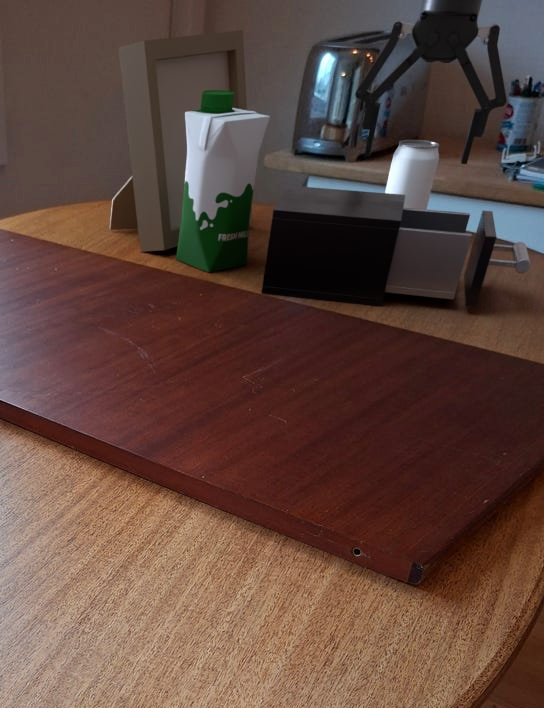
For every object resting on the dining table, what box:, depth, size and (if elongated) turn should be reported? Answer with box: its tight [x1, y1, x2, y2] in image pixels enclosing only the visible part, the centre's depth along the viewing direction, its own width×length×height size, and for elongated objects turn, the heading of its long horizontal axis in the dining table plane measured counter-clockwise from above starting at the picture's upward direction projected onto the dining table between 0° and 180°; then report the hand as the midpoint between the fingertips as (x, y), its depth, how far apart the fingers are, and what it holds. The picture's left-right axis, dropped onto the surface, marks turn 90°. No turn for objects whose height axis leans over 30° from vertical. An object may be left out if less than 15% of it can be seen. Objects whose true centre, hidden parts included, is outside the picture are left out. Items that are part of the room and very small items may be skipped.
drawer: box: [385, 208, 532, 308], centre depth 108 cm, size 18×13×8 cm
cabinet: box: [260, 185, 405, 307], centre depth 112 cm, size 15×14×10 cm
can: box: [384, 139, 440, 210], centre depth 131 cm, size 6×6×12 cm
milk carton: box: [175, 90, 271, 273], centre depth 115 cm, size 9×9×20 cm
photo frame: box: [108, 29, 253, 253], centre depth 126 cm, size 15×22×25 cm
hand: (414, 158), depth 129 cm, fingers open, 13 cm apart
